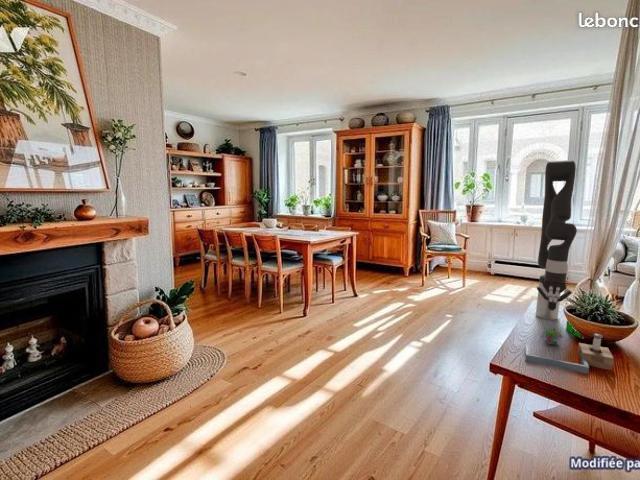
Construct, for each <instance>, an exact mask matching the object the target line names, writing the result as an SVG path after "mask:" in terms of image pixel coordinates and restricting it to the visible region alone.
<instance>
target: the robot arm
mask: <svg viewBox="0 0 640 480" xmlns="http://www.w3.org/2000/svg"><path fill="white" fill-rule="evenodd" d="M576 170H577V167H576V162H575V160H571V159H567V160H566V159H565V160H562V159H561V160H549V161H548V162H546V165H545V170H544V171H545V174H544V175H545V178H544V200H543V209H542V217H541V235H540V243H539V250H538V257H537V265H538V267H539V268H541V269H545V272H544V274H542V275H540V277H539V281H538V285H537V286H536V290H537V291H538V292H537V297H536V310H535V316H536V317H538V318H541V319H543V320H548V321H549V320H550V321H555V320H558V319H559V318H558V317H559V311H560V302H563V301H564V300H565V299H567V298H568V297H569V296H570V295H572V294H573V292H572V291H571V289H569V288H567V287H568V286H567V285H566V282H567V274H568V273H567V272H568V262H569V261H568V260H569V259H568V258H569V252H570V249H571V245H572V243H573V241H574V240H575V238H576V235H577V232H578V230H577V227H576V225H575V224H573V223H568V222H567V221H569V220H571V217H572V197H573V193H574V192H573V191H574V188H575V187H574V186H575V179H576V172H577V171H576ZM554 182H565V183H564V186H563V187H562V188H561V189H560V191H558V193H557V192H556V190H555V186H554ZM566 222H567V223H566ZM552 240H554V241H555V240H556V241H563V242H562V243H559V244H553V245H550V243H551V242H552ZM549 245H550V246H549ZM562 293H563V294H562Z"/></svg>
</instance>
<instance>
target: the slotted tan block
mask: <svg viewBox="0 0 640 480" xmlns="http://www.w3.org/2000/svg"><path fill="white" fill-rule="evenodd" d="M592 346H593V344H587V343H582V342H578V346H577V347H578V348H577V352H576V353H577V356H578V359H579V360H580V354H581V359H582V358H585V359H586V361H587V364H588V366H589V367H594V368H599V369H602V370H609V371H612V370H613V367H614V361H615V360H614V359H615V358H614V355H612V353H611V351H610V350H609V347H605V346H604V347H603V346H600V351H599V353H597V352H592ZM581 362H582V361H581ZM581 362H580V363H581Z"/></svg>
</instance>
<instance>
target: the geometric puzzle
mask: <svg viewBox="0 0 640 480" xmlns="http://www.w3.org/2000/svg"><path fill="white" fill-rule="evenodd" d="M552 329H553V330H552ZM552 329H549V328H545V329H544V332H542V334H541V335H540V338H541V339H542V340H543V341H545V343H546V345H547V347H549V346H551V347H552V346H558V344H559V343H560V342H561V341H562V339H563V335H562V333H561V332H560V331H559V330H558V329H557V328H555V327H554V328H552Z"/></svg>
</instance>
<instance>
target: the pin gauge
mask: <svg viewBox="0 0 640 480" xmlns="http://www.w3.org/2000/svg"><path fill="white" fill-rule="evenodd" d="M593 336H594V339H592V345H593V346H592V352H597V353H599V351H600V347H601V344H602V339H601V338H603V335H601V334H597V333H594V334H593Z"/></svg>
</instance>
